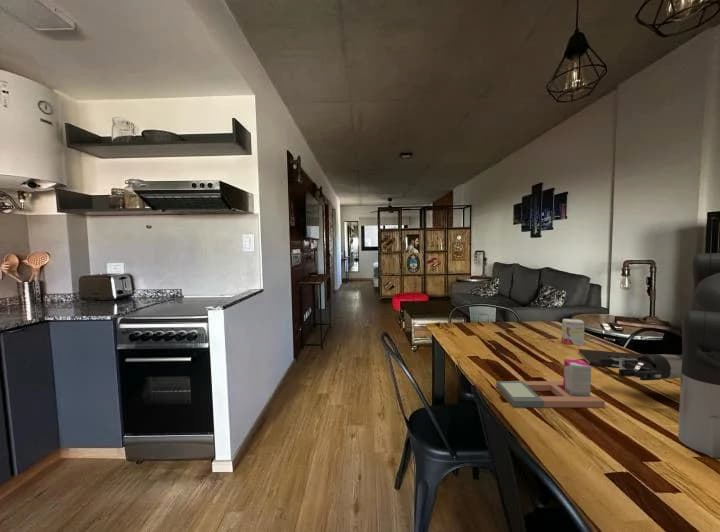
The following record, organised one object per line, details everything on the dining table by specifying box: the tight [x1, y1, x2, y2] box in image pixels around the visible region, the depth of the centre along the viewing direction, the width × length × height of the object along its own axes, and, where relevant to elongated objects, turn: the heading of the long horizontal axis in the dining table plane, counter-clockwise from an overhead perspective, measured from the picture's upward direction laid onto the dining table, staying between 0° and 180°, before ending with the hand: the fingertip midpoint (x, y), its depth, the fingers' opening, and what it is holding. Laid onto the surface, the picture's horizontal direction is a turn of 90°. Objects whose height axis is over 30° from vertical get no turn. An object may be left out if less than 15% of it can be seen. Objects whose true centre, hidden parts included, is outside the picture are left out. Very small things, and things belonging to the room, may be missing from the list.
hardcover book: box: [578, 348, 643, 369], centre depth 130 cm, size 16×23×2 cm
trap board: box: [496, 380, 606, 409], centre depth 103 cm, size 14×27×2 cm, turn 87°
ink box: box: [561, 318, 585, 347], centre depth 154 cm, size 9×5×12 cm, turn 67°
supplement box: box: [563, 358, 592, 396], centre depth 102 cm, size 6×6×12 cm
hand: (609, 367), depth 101 cm, fingers open, 8 cm apart
